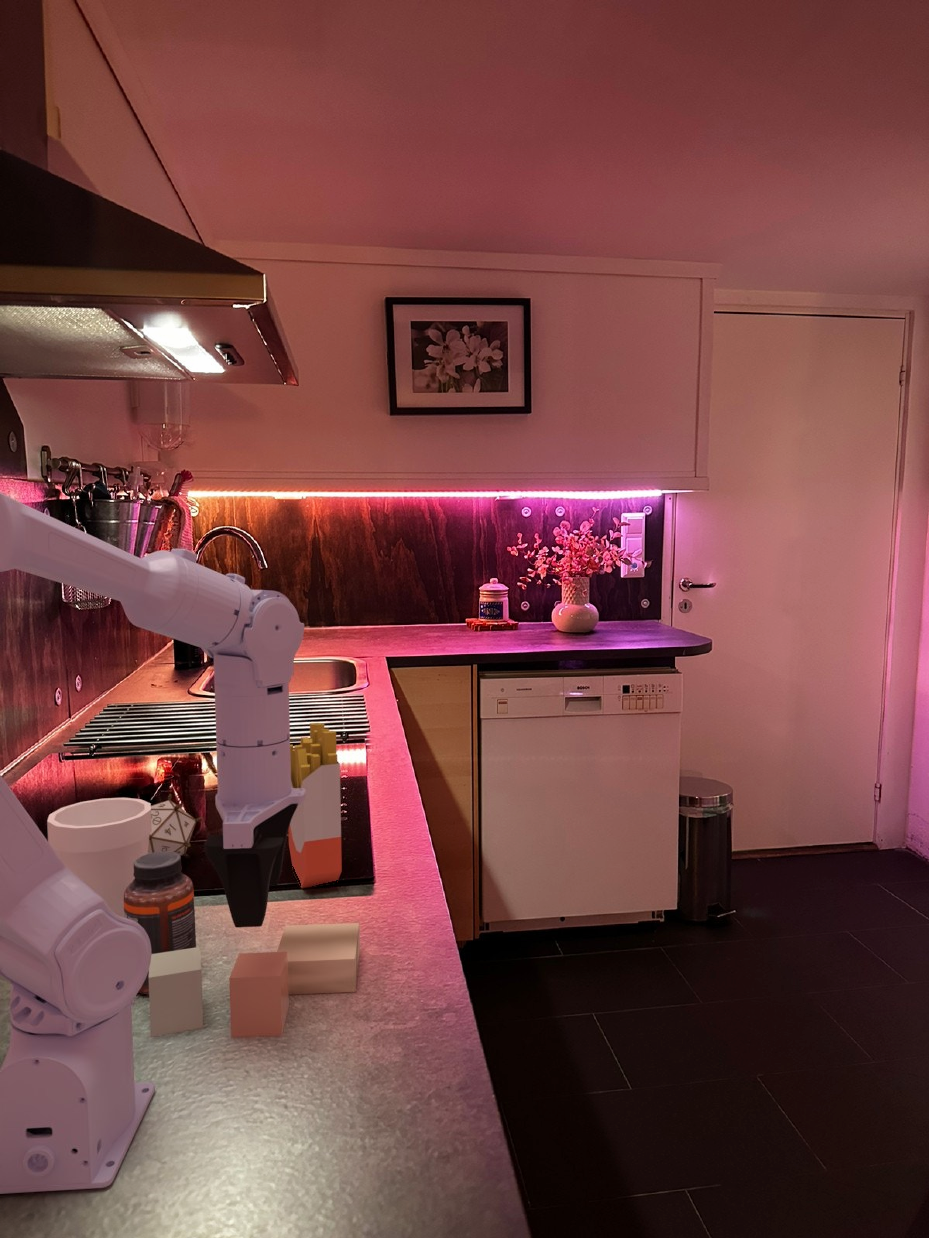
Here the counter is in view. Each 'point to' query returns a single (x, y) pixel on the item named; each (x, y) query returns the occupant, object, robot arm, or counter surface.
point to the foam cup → (102, 843)
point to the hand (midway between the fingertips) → (257, 903)
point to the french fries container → (316, 809)
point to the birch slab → (321, 957)
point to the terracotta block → (259, 994)
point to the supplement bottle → (162, 904)
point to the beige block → (175, 992)
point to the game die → (170, 828)
